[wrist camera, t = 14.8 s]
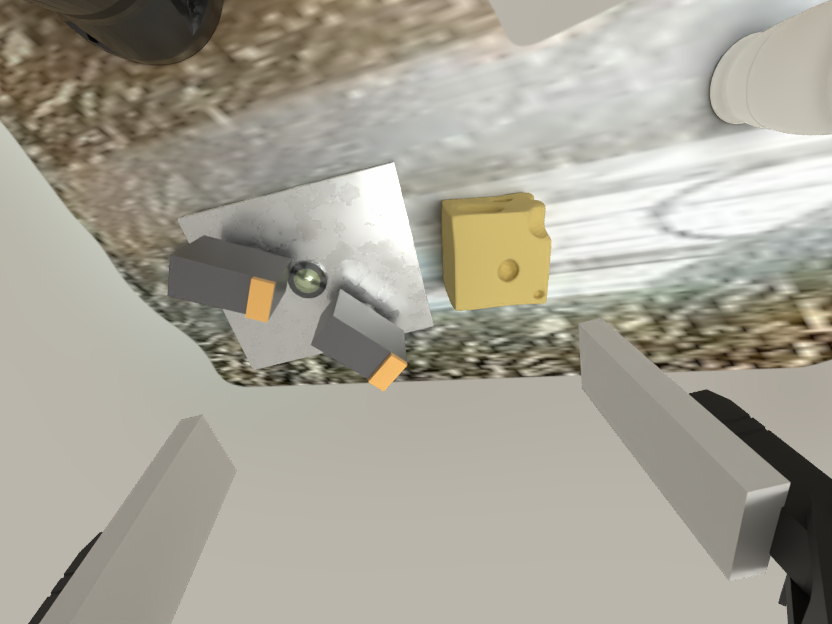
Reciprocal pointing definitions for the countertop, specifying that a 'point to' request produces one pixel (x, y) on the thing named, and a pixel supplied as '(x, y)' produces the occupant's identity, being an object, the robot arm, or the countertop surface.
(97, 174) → the countertop surface
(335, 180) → the level plate
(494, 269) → the cheese
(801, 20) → the jar
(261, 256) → the knob
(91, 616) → the robot arm
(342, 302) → the orange-capped gray block
